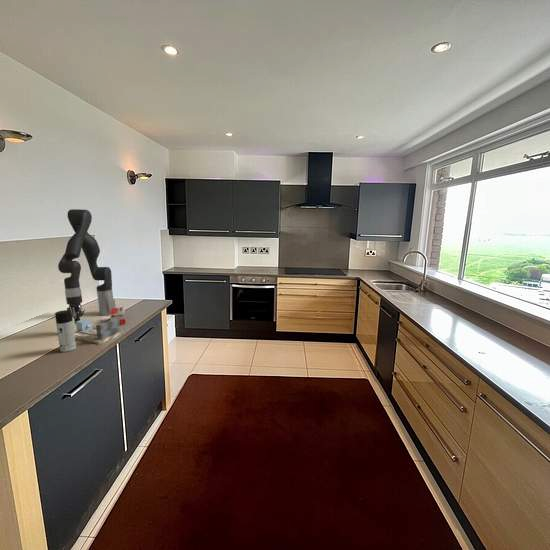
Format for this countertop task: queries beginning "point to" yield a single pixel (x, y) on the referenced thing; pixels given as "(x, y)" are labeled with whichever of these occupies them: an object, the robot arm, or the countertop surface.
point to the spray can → (65, 330)
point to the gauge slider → (84, 325)
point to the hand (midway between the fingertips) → (77, 323)
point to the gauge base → (101, 332)
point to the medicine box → (118, 314)
